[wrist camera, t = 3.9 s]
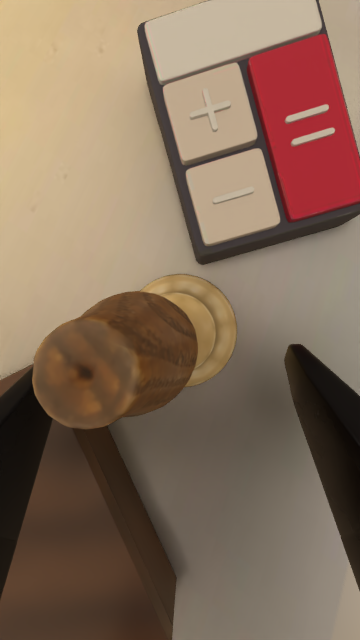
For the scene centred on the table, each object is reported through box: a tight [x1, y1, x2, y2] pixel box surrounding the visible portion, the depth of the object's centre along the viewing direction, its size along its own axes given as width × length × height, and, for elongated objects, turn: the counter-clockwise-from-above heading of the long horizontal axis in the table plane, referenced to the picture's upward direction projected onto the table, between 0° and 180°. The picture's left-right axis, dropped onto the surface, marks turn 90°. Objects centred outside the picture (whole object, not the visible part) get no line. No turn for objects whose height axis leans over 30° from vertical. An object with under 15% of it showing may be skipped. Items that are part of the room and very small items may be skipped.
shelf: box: [0, 364, 176, 640], centre depth 17 cm, size 18×14×4 cm
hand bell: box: [32, 274, 237, 429], centre depth 11 cm, size 8×8×16 cm
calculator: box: [137, 0, 360, 264], centre depth 17 cm, size 11×4×15 cm
